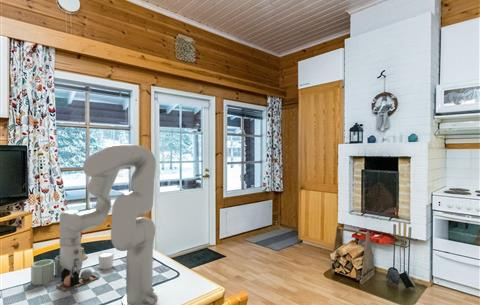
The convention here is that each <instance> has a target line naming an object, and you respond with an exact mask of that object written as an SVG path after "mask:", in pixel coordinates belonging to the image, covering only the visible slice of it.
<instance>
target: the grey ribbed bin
mask: <svg viewBox="0 0 480 305" xmlns="http://www.w3.org/2000/svg"><path fill="white" fill-rule="evenodd" d="M74 268H76V267H72V269H74ZM75 271H76V270H73V273H74V272H75ZM70 275H71V273H70ZM55 276H56V277H58V278H59V277H61V266H60V254H59V255H57V256H56V257H54V277H55Z"/></svg>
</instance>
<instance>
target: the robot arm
mask: <svg viewBox="0 0 480 305" xmlns="http://www.w3.org/2000/svg"><path fill="white" fill-rule="evenodd" d="M156 164H157V162H156V158H155V155H154V153H153V152H152V151H151V150H150V149H149V148H147V147H146V146H143V145H139V144H123V143H120V144H119V143H118V144H116V143H115V144H112V145H110V146H109V145H108V146H107V147H105V148H103V149H101V150H98V151H96V152H94V153H91V155H89V156H87V158H86V159H85V161H84V162H83V165H82V169H83V173H84V174H85V176H87V177H89V178H90V179H89V181H88V183H87V187H86V190H87V192H88V193H89V194H90V195H92V196H94V197H96V198H97V199H96V204H95V205H94V208H91V209H89V210H85V211H80V210H79V209H78V210H77V209H70V210H69V209H68V210H64V211H62V212H60V214H59V246H60V249H59V255H60V266H61V278H60V279H61V280H60V282H62V283H64V279H65V278H66V277H67V276H68V275H70V273H71V277H70V287H73V286H76V285H78V284H79V277H80V275H81V272H82V267H83V260H82V250H81V247H82V243H81V242H82V238H81V232H82V233H83V232H85V231H87V230H90V229H93V228H96V227H99V226H102V224H103V223H105V221H106V219H107V218H108V215H109V213H110V211H111V224H110V225H111V226H110V240H111V244H112V246H113V247H114V249H116V250H117V251H119V252H124V251H125V252H126V263H125V264H126V266H125V268H126V270H125V272H126V274H125V277H126V278H125V280H126V281H125V282H126V283H125V284H126V286H125V292H126V293H125V295H124V296H123V297H122V298H121V305H153V304H154V303H155V302H156V300H157V299H158V295H157V292H156V291H155V289H154V288H153V283H154V282H153V279H154V278H153V277H154V276H153V264H154V263H153V262H154V260H153V259H154V241H155V236H156V235H155V234H156V225H155V223H154V220H152V219H151V218H149V217H146V216H143V215H146V214H148V213H150V211H152V210H153V206H154V196H155V195H154V194H155V192H154V191H155V176H156V167H157V166H156ZM129 167H133V168H135V169H134V170H133V172H132V174H131V178H130V189H129V191H128V192H124V193H122V194H120V195H118V196H117V197H116V198H115V200H114V202H113V205H112V200H111V195H110V193H111V190H112V187H113V186H114V183H115V181H116V179H117V176H118V174H119V172H120V171H121V170H120V169H121V168H129ZM111 207H112V208H111ZM111 209H112V210H111ZM80 243H81V244H80ZM72 267H75V268H74V269H72ZM73 270H75V272H74V273H73Z"/></svg>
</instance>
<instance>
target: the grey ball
mask: <svg viewBox="0 0 480 305" xmlns="http://www.w3.org/2000/svg"><path fill="white" fill-rule="evenodd" d="M92 274H93V272H92V270H91V269H89V268H88V269H87V268H85V269H83V270H81V271H80V275H79V277H81V279H82V280H88V279H89V278H90V277H91V276H92Z"/></svg>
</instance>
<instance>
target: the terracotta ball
mask: <svg viewBox="0 0 480 305" xmlns="http://www.w3.org/2000/svg"><path fill="white" fill-rule="evenodd" d="M70 277H71V275H68V276H67V277H66V278H65V279H64V282H63V283H64V284H65V285H66V286H70Z"/></svg>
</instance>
